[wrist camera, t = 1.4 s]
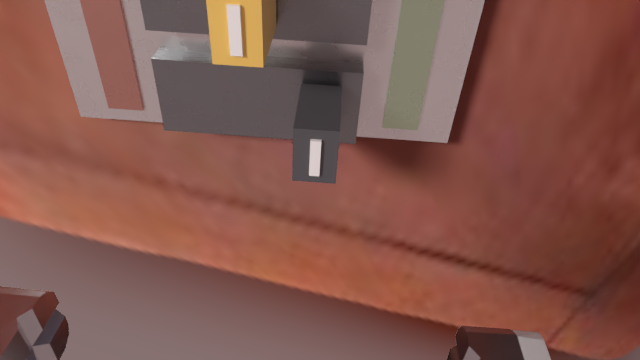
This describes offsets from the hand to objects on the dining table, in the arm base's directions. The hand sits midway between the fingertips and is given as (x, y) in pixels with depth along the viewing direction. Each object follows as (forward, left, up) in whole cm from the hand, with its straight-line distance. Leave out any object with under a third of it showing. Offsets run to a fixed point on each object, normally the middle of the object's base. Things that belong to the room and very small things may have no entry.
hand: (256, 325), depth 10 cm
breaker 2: (+7, 0, -21) cm, 22 cm away
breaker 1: (0, -4, -21) cm, 21 cm away
